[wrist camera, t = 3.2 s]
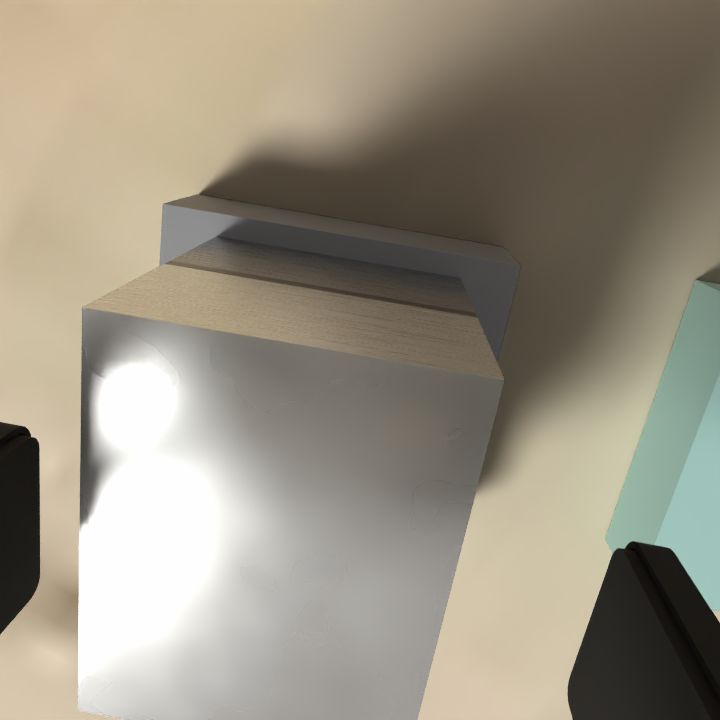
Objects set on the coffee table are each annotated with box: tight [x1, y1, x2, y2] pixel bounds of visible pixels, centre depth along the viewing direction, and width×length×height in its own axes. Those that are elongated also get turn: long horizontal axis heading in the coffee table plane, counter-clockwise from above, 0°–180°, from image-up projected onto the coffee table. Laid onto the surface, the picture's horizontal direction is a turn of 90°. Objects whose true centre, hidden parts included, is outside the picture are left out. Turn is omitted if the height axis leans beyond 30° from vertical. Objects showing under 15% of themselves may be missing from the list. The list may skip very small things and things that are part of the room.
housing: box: [78, 236, 505, 720], centre depth 12 cm, size 7×6×6 cm
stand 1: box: [160, 194, 521, 361], centre depth 16 cm, size 8×8×2 cm
